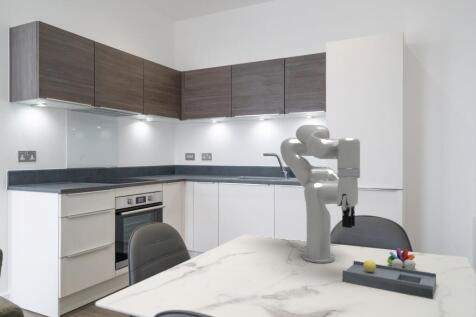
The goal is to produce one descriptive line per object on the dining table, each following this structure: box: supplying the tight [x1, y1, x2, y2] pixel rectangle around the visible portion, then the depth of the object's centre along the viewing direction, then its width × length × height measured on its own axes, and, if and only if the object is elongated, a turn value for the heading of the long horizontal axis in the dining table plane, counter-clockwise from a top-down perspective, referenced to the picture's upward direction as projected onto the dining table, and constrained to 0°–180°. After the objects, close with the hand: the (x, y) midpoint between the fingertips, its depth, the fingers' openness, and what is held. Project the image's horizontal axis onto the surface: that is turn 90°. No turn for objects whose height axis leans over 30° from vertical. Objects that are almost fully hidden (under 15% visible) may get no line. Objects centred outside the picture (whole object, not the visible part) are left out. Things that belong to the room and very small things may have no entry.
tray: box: [342, 260, 437, 300], centre depth 113 cm, size 26×14×4 cm, turn 57°
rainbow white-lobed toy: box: [386, 247, 417, 270], centre depth 129 cm, size 8×10×7 cm
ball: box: [363, 259, 376, 272], centre depth 116 cm, size 4×4×4 cm
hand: (348, 226), depth 120 cm, fingers open, 2 cm apart
